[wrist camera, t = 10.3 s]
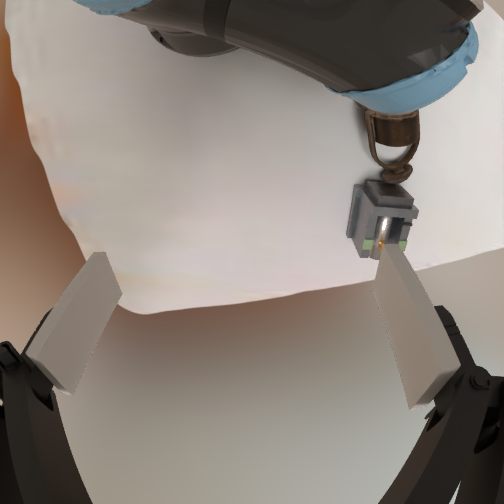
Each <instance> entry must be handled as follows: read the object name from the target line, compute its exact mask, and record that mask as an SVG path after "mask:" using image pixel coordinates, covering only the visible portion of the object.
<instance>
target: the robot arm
mask: <svg viewBox="0 0 504 504" xmlns="http://www.w3.org/2000/svg"><path fill="white" fill-rule="evenodd" d="M74 1H75V2H76V3H78V4H80V5H82V6H85V7H88V8H90V10H91V11H93V12H96V13H97V14H101V15H115V16H119V17H122V18H125V19H129V20H132V21H135V22H138V23H140V24H143V25H146V26H147V27H148V29H149V31H150V33H151V34H152V36H153V37H154V38H155V39H156V40H157V41H158V42H159V43H160V44H162V45H163V46H165V47H166V48H168V49H170V50H172V51H175V52H178V53H181V54H185V55H189V56H196V57H209V56H216V55H221V54H225V53H228V52H231V51H233V50H235V49H237V48H239V47H240V48H243V49H246V50H249V51H251V52H254V53H257V54H259V55H262V56H264V57H267V58H269V59H272V60H274V61H277V62H279V63H281V64H283V65H286V66H288V67H290V68H292V69H295V70H297V71H299V72H301V73H303V74H305V75H307V76H309V77H311V78H313V79H315V80H317V81H319V82H321V83H323V84H324V85H325V87H326V88H328V89H329V90H330V91H332V92H333V93H336V94H340V95H342V96H346V97H349V98H351V99H353V100H355V101H356V102H358V103H360V104H362V105H364V106H365V107H367V108H369V109H371V110H374V111H377V112H381V113H386V114H401V113H407V112H411V111H414V110H417V109H420V108H423V107H425V106H427V105H429V104H431V103H433V102H435V101H437V100H438V99H440V98H441V97H443V96H444V95H446V94H447V93H448V92H450V91H451V90H452V89H453V88H454V87H455V86H456V85H457V84H458V83H459V82H460V81H461V80H462V79H463V78H464V77H465V75H466V74H467V69H466V67H465V66H467V65H468V64H471V63H474V61H475V59H476V56H477V53H478V47H479V44H478V36H477V33H476V31H475V29H474V26H473V23H472V22H471V21H470V20H471V19H473V18H474V17H475V16H476V15H477V14H478V13H479V12H481V11H482V10H483V9H484V6H483V0H74ZM372 291H373V294H374V297H375V300H376V302H377V305H378V308H379V310H380V313H381V316H382V319H383V322H384V325H385V328H386V331H387V334H388V337H389V339H390V343H391V346H392V349H393V352H394V356H395V359H396V362H397V365H398V369H399V372H400V376H401V380H402V383H403V387H404V390H405V394H406V398H407V402H408V406H409V410H413V409H417V408H422V407H426V406H427V405H428V404H429V403H430V402H431V401H432V400H433V399H434V402H435V405H436V406H435V407H434V408H433V409H432V410H431V411H430V412H429V413H428V414H427V415H426V417H425V419H427V418H429V419H428V421H427V423H426V425H425V427H424V429H423V431H422V433H421V435H420V437H419V439H418V441H417V443H416V445H415V447H414V448H413V450H412V452H411V454H410V455H409V457H408V459H407V461H406V462H405V464H404V466H403V467H402V469H401V471H400V472H399V474H398V476H397V477H396V479H395V480H394V482H393V483H392V485H391V486H390V488H389V489H388V491H387V492H386V493H385V495H384V496H383V498H382V499H381V500H380V502H379V503H378V504H449V502H450V501H451V499H452V497H453V495H454V493H455V491H456V489H457V487H458V485H459V483H460V486H459V490H458V493H457V496H456V500H455V503H454V504H504V377H501V376H491V375H490V374H489V373H488V371H487V370H486V369H484V368H483V367H480V366H476V364H475V363H474V360H473V358H472V356H471V354H470V351H469V349H468V347H467V345H466V343H465V341H464V339H463V337H462V335H461V334H460V331H459V329H458V327H457V326H456V323H455V321H454V319H453V317H452V315H451V314H450V313H449V312H448V311H447V310H446V309H445V308H444V307H443V306H442V305H441V306H433V304H432V302H431V300H430V299H429V297H428V295H427V293H426V291H425V289H424V287H423V286H422V284H421V282H420V280H419V278H418V277H417V275H416V273H415V272H414V270H413V268H412V266H411V265H410V263H409V261H408V260H407V258H406V256H405V255H404V253H403V251H402V250H401V248H400V247H399V245H398V244H383V246H382V251H381V256H380V260H379V265H378V269H377V273H376V277H375V282H374V286H373V290H372ZM121 295H122V291H121V289H120V287H119V284H118V282H117V280H116V277H115V275H114V272H113V270H112V268H111V265H110V263H109V260H108V257H107V255H106V252H94V253H93V254H92V255H91V257H90V258H89V259H88V260H87V262H86V263H85V264H84V266H83V267H82V268H81V270H80V271H79V272H78V274H77V275H76V276H75V278H74V279H73V280H72V282H71V283H70V285H69V286H68V287H67V289H66V290H65V292H64V293H63V294H62V296H61V297H60V299H59V300H58V302H57V303H56V305H55V306H54V307H53V308H52V309H51V310H50V311H49V312H47V313H46V314H45V316H44V317H43V319H42V320H41V322H40V324H39V325H38V327H37V328H36V331H34V333H33V335H32V336H31V338H30V340H29V341H28V343H27V345H26V346H25V348H24V350H23V352H22V353H21V355H20V354H19V353H18V352H17V351H16V349H15V348H14V347H13V345H12V344H11V343H10V342H9V341H4V342H1V343H0V399H1V400H2V401H3V404H2V406H1V405H0V504H93V503H92V501H91V499H90V497H89V495H88V493H87V491H86V488H85V486H84V484H83V481H82V479H81V477H80V474H79V471H78V469H77V466H76V464H75V461H74V458H73V455H72V453H71V450H70V447H69V444H68V440H67V437H66V434H65V431H64V427H63V424H62V420H61V416H60V412H59V408H58V404H57V400H56V395H55V393H54V391H53V390H52V387H53V385H54V386H55V387H56V388H57V389H58V390H59V391H60V392H62V393H65V394H68V395H71V396H73V395H74V393H75V390H76V388H77V386H78V384H79V381H80V379H81V377H82V374H83V372H84V370H85V368H86V365H87V363H88V361H89V359H90V357H91V355H92V352H93V350H94V348H95V346H96V344H97V342H98V340H99V338H100V336H101V334H102V332H103V330H104V328H105V326H106V324H107V322H108V320H109V318H110V316H111V314H112V312H113V310H114V308H115V306H116V305H117V303H118V301H119V299H120V297H121ZM460 481H461V482H460Z"/></svg>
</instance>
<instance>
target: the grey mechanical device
mask: <svg viewBox="0 0 504 504" xmlns="http://www.w3.org/2000/svg"><path fill="white" fill-rule="evenodd" d="M366 190H367V191H368V193H369V194H370V195H371V196H372V198H373V199H374V200H375V202H376V203H377V204H378V205H390V206H402V207H412V206H413V202H414V198H413V197H412V196H411V195H410V194H409V193H408V192H407V191H406V190H405V189H404V188H403V187H402V186H401V185H399V184H389V183H385V182H375V181H367V184H366ZM392 220H393V217H385V216H378V218H377V223H376V227H375V232H374V236H373V240H374V241H373V245H372V249H371V250H370V253H369V257H370V258H372V259H375V260H380V256H381V251H382V246H383V244H387V240H388V236H389V232H390V228H391V224H392Z"/></svg>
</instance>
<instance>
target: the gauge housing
mask: <svg viewBox="0 0 504 504" xmlns="http://www.w3.org/2000/svg"><path fill="white" fill-rule="evenodd" d="M418 212H419V210H418V209H417V208H416V207H415V206H414V205H413V206H412V207H402V206H390V205H378V204H377V203H376V202H375V200H374V199H373V198H372V196H371V195H370V194H369V193H368V191H367V190H366V186H363V185H354V191H353V197H352V204H351V210H350V216H349V222H348V228H347V233H346V235H347V237H348V238H352V240H353V243H354V245H355V247H356V249H357V252H358V254H359V256H360V258H368V257H369V253H370V250H371V249H372V245H373V241H374V240H373V236H374V232H375V227H376V223H377V218H378V216H385V217H393V220H392V224H391V228H390V232H389V236H388V240H387V244H398V245H399V247H400V248H401V250H402V251H405V248H406V245H407V237H408V234H409V230H410V226H412V219H417V216H418Z"/></svg>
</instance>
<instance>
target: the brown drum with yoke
mask: <svg viewBox="0 0 504 504" xmlns="http://www.w3.org/2000/svg"><path fill="white" fill-rule="evenodd" d="M357 104H358V106H360V107H362V108H363V109H365V110H366V113H365V120H366V126H367V132H368V140H369V148H370V151H371V155H372V157H373V159H374V160H375V161H376V162H377V163H378V164H379V165H380V166H381V167H383V168H385V169H388V170H386V171H385V172H384V173H383V175H382V179H383V180H384V181H385V182H386V183H389V184H399V183H401V182H403V181H405V180H407V179H408V177H409V176H410V175H411V173H412V171H413V168H412V166H411V165H407V163H408V162H409V161H410V160H411V159H412V157H413V156H414V154H415V152H416V150H417V147H418V145H419V140H420V123H419V109H417V110H414V111H411V112H407V113H401V114H386V113H381V112H377V111H374V110H371V109H369V108H367V107H365V106H364V105H362V104H360V103H357ZM375 142H377V143H380V144H382V145H386V146H391V147H403V146H408V145H411V144H412V146H411V148H410V150H409V151H408V153H407V154H406V155H405V156H404V157H403V158H402V159H401V160H400V161H397V162H394V163H392V164H384V163H382V162H381V161H380V160H379V159H378V157H377V153H376V147H375Z"/></svg>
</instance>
